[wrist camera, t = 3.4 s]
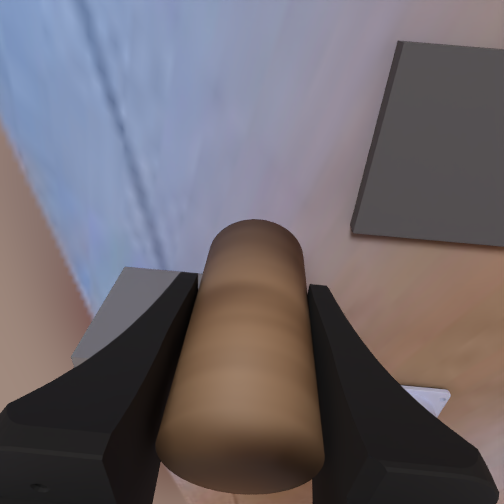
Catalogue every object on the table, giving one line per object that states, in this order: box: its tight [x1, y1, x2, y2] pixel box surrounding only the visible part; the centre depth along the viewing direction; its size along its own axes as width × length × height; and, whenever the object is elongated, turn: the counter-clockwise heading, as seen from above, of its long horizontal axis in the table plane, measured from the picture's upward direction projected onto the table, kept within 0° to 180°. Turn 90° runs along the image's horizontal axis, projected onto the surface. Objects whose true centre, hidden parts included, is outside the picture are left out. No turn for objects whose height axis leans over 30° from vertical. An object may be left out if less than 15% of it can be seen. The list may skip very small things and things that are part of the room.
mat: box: [350, 41, 504, 247], centre depth 19 cm, size 10×10×1 cm
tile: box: [71, 267, 203, 368], centre depth 22 cm, size 2×6×8 cm, turn 86°
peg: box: [155, 219, 325, 494], centre depth 12 cm, size 4×4×8 cm
